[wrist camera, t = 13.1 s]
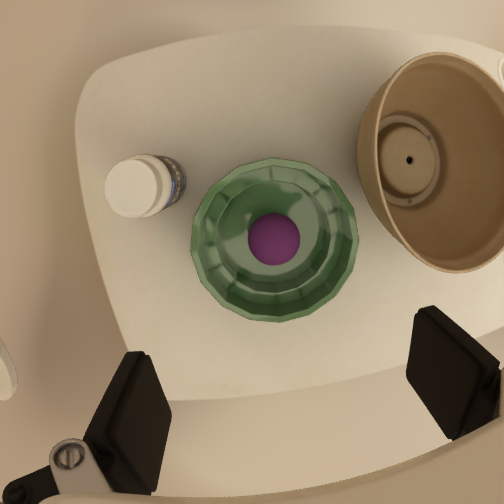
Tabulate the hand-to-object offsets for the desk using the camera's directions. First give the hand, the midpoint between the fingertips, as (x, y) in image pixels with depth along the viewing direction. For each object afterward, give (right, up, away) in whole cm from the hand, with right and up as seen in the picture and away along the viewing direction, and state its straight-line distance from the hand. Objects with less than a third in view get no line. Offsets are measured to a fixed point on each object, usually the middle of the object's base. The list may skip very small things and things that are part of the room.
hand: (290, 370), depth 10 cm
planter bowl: (+14, +13, +17) cm, 26 cm away
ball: (+1, +5, +16) cm, 17 cm away
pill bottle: (-10, +10, +17) cm, 22 cm away
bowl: (+1, +6, +19) cm, 20 cm away
